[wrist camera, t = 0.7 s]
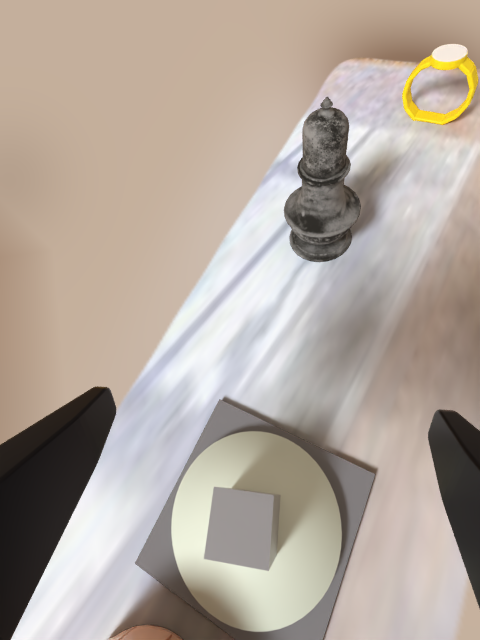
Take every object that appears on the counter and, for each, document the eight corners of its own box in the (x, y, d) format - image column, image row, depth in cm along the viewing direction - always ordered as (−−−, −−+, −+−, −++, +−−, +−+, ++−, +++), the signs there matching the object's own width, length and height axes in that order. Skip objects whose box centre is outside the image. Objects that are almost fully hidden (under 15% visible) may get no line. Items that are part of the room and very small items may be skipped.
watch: (395, 125, 35) (405, 60, 30) (404, 108, 36) (416, 43, 31) (459, 131, 32) (482, 62, 27) (468, 114, 33) (492, 43, 28)
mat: (305, 688, 17) (306, 692, 17) (137, 562, 21) (134, 563, 21) (374, 474, 21) (375, 474, 20) (220, 400, 25) (219, 399, 24)
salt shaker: (344, 206, 31) (363, 57, 20) (364, 256, 28) (397, 114, 18) (280, 220, 31) (267, 82, 21) (293, 271, 29) (286, 141, 18)
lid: (341, 646, 17) (354, 701, 13) (160, 605, 19) (113, 640, 15) (339, 441, 22) (348, 426, 17) (191, 426, 24) (163, 409, 19)
